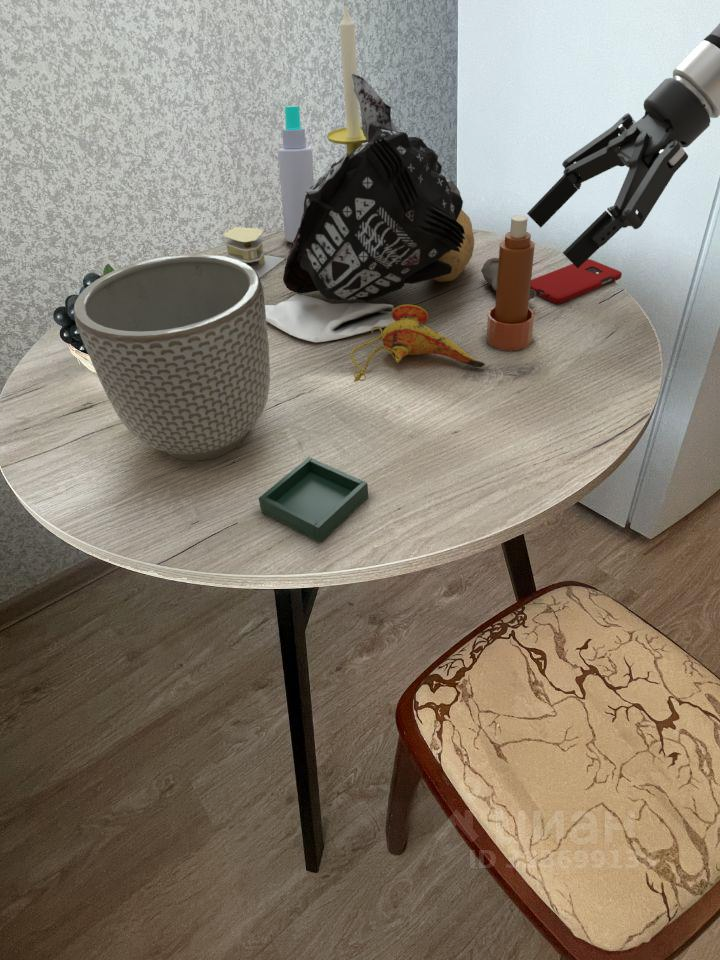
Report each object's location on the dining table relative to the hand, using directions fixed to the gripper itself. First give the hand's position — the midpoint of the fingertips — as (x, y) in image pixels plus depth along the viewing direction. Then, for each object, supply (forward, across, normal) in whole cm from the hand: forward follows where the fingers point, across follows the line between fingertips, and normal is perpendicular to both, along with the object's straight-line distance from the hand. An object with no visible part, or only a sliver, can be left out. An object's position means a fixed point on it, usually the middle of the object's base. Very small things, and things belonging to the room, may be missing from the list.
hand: (550, 239), depth 90 cm
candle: (+25, +33, +5) cm, 41 cm away
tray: (+34, -29, +15) cm, 47 cm away
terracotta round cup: (+13, 0, -7) cm, 15 cm away
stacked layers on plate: (+39, +36, +19) cm, 56 cm away
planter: (+43, -14, +23) cm, 51 cm away
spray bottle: (+31, +44, +12) cm, 55 cm away
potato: (+16, +22, -4) cm, 28 cm away
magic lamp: (+18, +1, +6) cm, 19 cm away
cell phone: (+2, +15, -16) cm, 22 cm away
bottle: (+12, 0, -6) cm, 14 cm away
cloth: (+30, +11, +11) cm, 34 cm away
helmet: (+32, +15, +16) cm, 38 cm away
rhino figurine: (+7, +14, -10) cm, 18 cm away
